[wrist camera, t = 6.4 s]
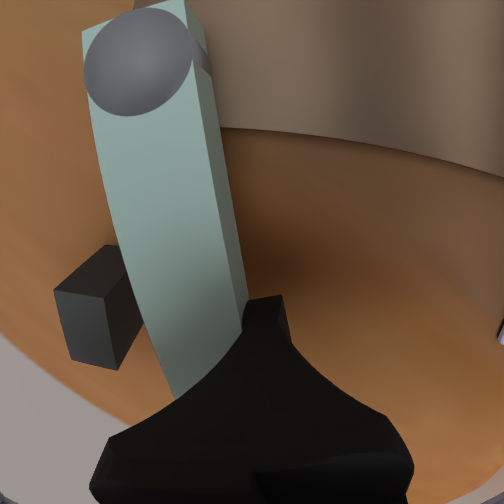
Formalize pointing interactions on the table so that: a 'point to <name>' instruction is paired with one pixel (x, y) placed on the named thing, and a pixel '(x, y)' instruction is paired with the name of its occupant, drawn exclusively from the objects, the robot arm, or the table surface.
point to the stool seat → (363, 72)
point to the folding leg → (167, 183)
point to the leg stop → (99, 310)
